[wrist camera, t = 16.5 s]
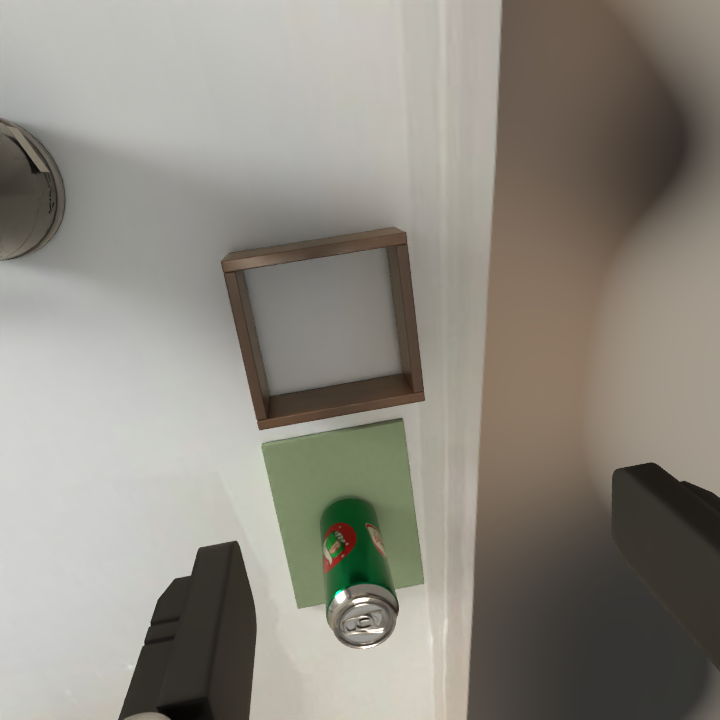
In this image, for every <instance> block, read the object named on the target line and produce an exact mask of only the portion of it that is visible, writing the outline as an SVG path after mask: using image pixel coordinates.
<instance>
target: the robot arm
mask: <svg viewBox="0 0 720 720" xmlns="http://www.w3.org/2000/svg"><path fill="white" fill-rule="evenodd" d="M64 205H65V196H64V188H63V183H62V179H61V176H60V173H59V171H58V169H57V167H56V165H55V163H54V161H53V159H52V158H51V156H50V155H49V153H48V152H47V151H46V149H45V148H44V147H43V146H42V145H41V144H40V143H39V142H38V141H37V140H36V139H35V138H34V137H33V136H32V135H31V134H29V133H28V132H27V131H25V130H24V129H22V128H21V127H19V126H17V125H15V124H13V123H11V122H9V121H7V120H4V119H2V118H0V261H1V260H9V259H14V258H18V257H22V256H25V255H28V254H31V253H33V252H35V251H37V250H38V249H40V248H41V247H43V246H44V245H45V244H46V243H47V242H48V241H49V240H50V239H51V238H52V237H53V236H54V234H55V233H56V231H57V229H58V227H59V225H60V223H61V220H62V217H63V213H64ZM612 536H613V540H614V544H615V546H616V548H617V551H618V553H619V555H620V556H621V558H622V559H623V561H624V562H625V563H626V564H627V565H628V566H629V568H630V569H631V570H632V571H633V572H634V573H635V574H636V576H637V577H638V578H639V579H640V580H641V582H642V583H643V584H644V585H645V586H646V587H647V588H648V590H649V591H650V592H651V593H652V594H653V595H654V596H655V598H656V599H657V600H658V601H659V602H660V603H661V604H662V606H663V607H664V608H665V609H666V610H667V611H668V612H669V614H670V615H671V616H672V617H673V618H674V619H675V620H676V622H677V623H678V624H679V625H680V626H681V627H682V629H683V630H684V631H685V632H686V633H687V634H688V635H689V636H690V638H691V639H692V640H693V641H694V642H695V643H696V645H697V646H698V647H699V648H700V649H701V650H702V651H703V653H704V654H705V655H706V656H707V657H708V658H709V659H710V661H711V662H712V663H713V664H714V665H715V666H716V668H717V669H718V670H719V671H720V498H719V497H718V496H716V495H715V494H714V493H712V492H710V491H707V490H705V489H703V488H700V487H698V486H696V485H693V484H691V483H688V482H686V481H682V482H679V481H678V480H677V479H675V478H674V477H673V476H671V475H670V474H669V473H668V472H666V471H665V470H663V469H662V468H661V467H660V466H659V465H657V464H655V463H646V464H640V465H635V466H630V467H624V468H620V469H616V470H615V471H614V473H613V477H612ZM150 623H151V627H149V628H148V631H147V635H146V638H145V641H144V643H145V645H144V646H143V647H142V650H141V653H140V656H139V659H138V662H137V665H136V668H135V671H134V674H133V677H132V680H131V683H130V686H129V689H128V692H127V695H126V698H125V701H124V704H123V707H122V710H121V713H120V716H119V719H118V720H249V714H250V703H251V691H252V679H253V668H254V656H255V645H256V632H257V625H256V612H255V605H254V600H253V596H252V592H251V588H250V584H249V580H248V576H247V573H246V569H245V565H244V561H243V557H242V553H241V549H240V546H239V544H238V542H237V541H232V542H227V543H221V544H216V545H211V546H206V547H200V548H199V550H198V552H197V555H196V559H195V563H194V567H193V570H192V574H191V576H186V577H181V578H176V579H174V580H173V582H172V583H171V584H170V585H169V587H168V588H167V589H166V590H165V592H164V593H163V594H162V595H161V597H160V598H159V599H158V601H157V604H156V607H155V610H154V613H153V616H152V619H151V622H150Z"/></svg>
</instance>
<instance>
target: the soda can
mask: <svg viewBox="0 0 720 720" xmlns="http://www.w3.org/2000/svg"><path fill="white" fill-rule="evenodd" d="M320 533H321V547H322V561H323V575H324V589H325V603H326V617H327V621H328V624H329V626H330V628H331V629H332V630H333V631H334V634H335V636H336V637H337V639H338V640H339V641H340V642H341V643H343V644H344V645H346V646H348V647H351V648H357V649H366V648H371V647H374V646H377V645H379V644H381V643H382V642H384V641H385V640H386V639H387V638H389V636H390V635H391V634H392V632H393V631H394V628H395V625H396V619H397V616H398V612H399V604H398V600H397V596H396V592H395V588H394V584H393V580H392V576H391V571H390V567H389V563H388V559H387V555H386V551H385V547H384V543H383V539H382V535H381V531H380V527H379V523H378V518H377V515H376V512H375V511H374V509H373V508H372V507H371V506H370V505H369V504H368V503H366V502H364V501H362V500H359V499H354V498H348V499H342V500H339V501H336V502H335V503H333V504H331V505H330V506H329V507H328V508H327V509H326V510H325V511H324V513H323V515H322V517H321V520H320Z"/></svg>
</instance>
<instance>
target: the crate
mask: <svg viewBox="0 0 720 720" xmlns="http://www.w3.org/2000/svg"><path fill="white" fill-rule="evenodd" d="M383 247H387V253H388V261H389V269H390V277H391V285H392V293H393V301H394V309H395V317H396V325H397V333H398V341H399V349H400V357H401V365H402V373H403V374H399V375H393V376H387V377H381V378H376V379H370V380H364V381H359V382H353V383H347V384H341V385H336V386H330V387H324V388H319V389H313V390H307V391H302V392H296V393H290V394H284V395H279V396H273V397H270V394H269V389H268V385H267V380H266V375H265V370H264V366H263V361H262V356H261V352H260V347H259V342H258V338H257V333H256V328H255V323H254V319H253V314H252V309H251V305H250V300H249V295H248V291H247V286H246V281H245V276H244V272H243V270H245V269H252V268H258V267H264V266H270V265H277V264H283V263H289V262H295V261H302V260H308V259H314V258H320V257H327V256H333V255H339V254H345V253H352V252H358V251H364V250H370V249H377V248H383ZM221 264H222V268H223V272H224V277H225V282H226V286H227V290H228V295H229V299H230V304H231V308H232V313H233V317H234V322H235V326H236V330H237V335H238V339H239V344H240V348H241V353H242V357H243V362H244V366H245V370H246V375H247V379H248V384H249V388H250V393H251V397H252V402H253V406H254V410H255V415H256V419H257V424H258V428H259V430H264V429H269V428H275V427H281V426H286V425H292V424H297V423H303V422H308V421H314V420H320V419H325V418H331V417H336V416H342V415H348V414H353V413H359V412H364V411H370V410H376V409H381V408H387V407H392V406H398V405H404V404H409V403H415V402H420V401H425V396H424V387H423V378H422V369H421V360H420V351H419V342H418V334H417V325H416V316H415V307H414V298H413V289H412V280H411V271H410V262H409V254H408V245H407V236H406V232H404V231H402V230H400V229H397V228H395V227H392V228H385V229H379V230H373V231H366V232H360V233H354V234H347V235H341V236H335V237H328V238H322V239H315V240H309V241H303V242H296V243H290V244H284V245H277V246H271V247H265V248H258V249H252V250H246V251H239V252H233V253H229V254H228V255H227V256H226V257H225V258H224V259H223V260H222V261H221Z"/></svg>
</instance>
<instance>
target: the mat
mask: <svg viewBox="0 0 720 720" xmlns="http://www.w3.org/2000/svg"><path fill="white" fill-rule="evenodd" d="M262 452H263V456H264V461H265V465H266V469H267V474H268V478H269V483H270V487H271V492H272V496H273V500H274V505H275V509H276V514H277V518H278V523H279V527H280V531H281V536H282V540H283V545H284V549H285V554H286V558H287V562H288V567H289V571H290V576H291V580H292V585H293V589H294V593H295V598H296V602H297V607H298V609H300V608H305V607H310V606H315V605H320V604H325V589H324V575H323V561H322V547H321V533H320V520H321V517H322V515H323V513H324V511H325V510H326V509H327V508H328V507H329V506H330V505H331V504H333V503H335V502H336V501H339V500H342V499H348V498H354V499H359V500H362V501H364V502H366V503H368V504H369V505H370V506H371V507H372V508H373V509H374V511H375V512H376V515H377V518H378V523H379V527H380V531H381V535H382V539H383V543H384V547H385V551H386V555H387V559H388V563H389V567H390V571H391V576H392V580H393V584H394V588H395V589H399V588H404V587H409V586H414V585H419V584H424V577H423V570H422V562H421V554H420V546H419V539H418V531H417V523H416V515H415V507H414V500H413V492H412V484H411V476H410V468H409V461H408V453H407V445H406V437H405V429H404V422H403V419H402V418H401V419H396V420H390V421H385V422H379V423H374V424H368V425H363V426H357V427H352V428H346V429H341V430H335V431H329V432H324V433H318V434H313V435H307V436H302V437H296V438H291V439H285V440H280V441H274V442H268V443H263V444H262Z"/></svg>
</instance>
